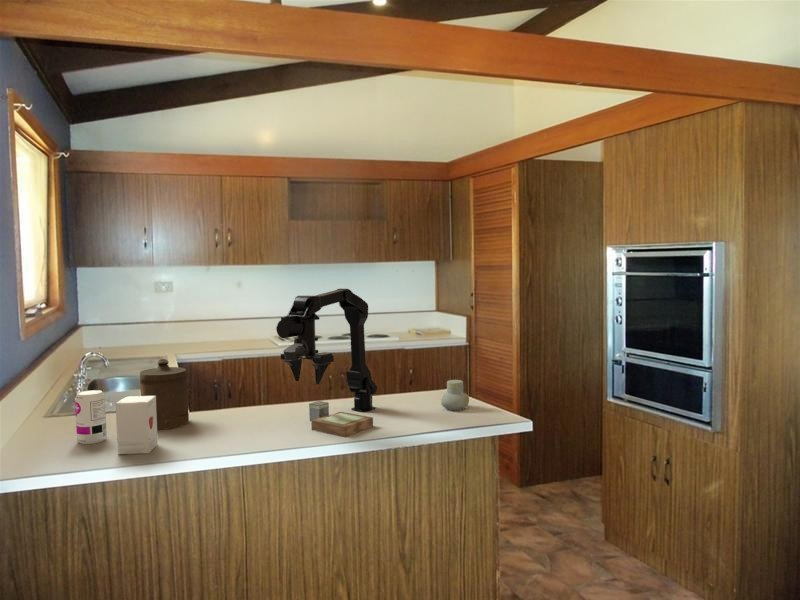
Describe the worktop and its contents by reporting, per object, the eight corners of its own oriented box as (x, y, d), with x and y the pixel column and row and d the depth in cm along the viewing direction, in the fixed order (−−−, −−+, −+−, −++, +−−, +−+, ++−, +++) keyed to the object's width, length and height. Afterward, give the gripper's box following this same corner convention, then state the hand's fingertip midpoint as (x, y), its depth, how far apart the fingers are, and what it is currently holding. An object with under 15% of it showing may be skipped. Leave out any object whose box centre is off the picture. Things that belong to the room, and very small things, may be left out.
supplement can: (76, 446, 190) (73, 396, 189) (78, 439, 197) (75, 391, 196) (106, 442, 193) (104, 393, 192) (107, 435, 200) (104, 388, 199)
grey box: (319, 418, 219) (318, 400, 218) (329, 420, 216) (328, 402, 216) (309, 421, 215) (309, 403, 215) (319, 423, 212) (319, 405, 212)
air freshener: (448, 404, 236) (448, 377, 235) (470, 406, 233) (470, 379, 232) (439, 411, 226) (439, 383, 225) (462, 413, 223) (462, 385, 222)
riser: (340, 420, 215) (340, 410, 215) (373, 426, 207) (372, 416, 207) (311, 429, 204) (311, 420, 204) (344, 436, 196) (344, 426, 196)
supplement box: (149, 453, 182) (147, 402, 180) (116, 455, 181) (114, 403, 180) (158, 444, 191) (156, 395, 190) (127, 445, 190) (125, 395, 189)
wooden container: (166, 416, 223) (163, 354, 222) (198, 421, 217) (195, 357, 215) (131, 427, 210) (128, 361, 208) (164, 432, 203) (161, 364, 202)
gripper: (267, 335, 204) (268, 383, 205) (309, 339, 193) (310, 390, 194) (292, 331, 213) (293, 378, 214) (334, 335, 202) (335, 384, 203)
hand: (307, 382), depth 206 cm, fingers open, 9 cm apart
